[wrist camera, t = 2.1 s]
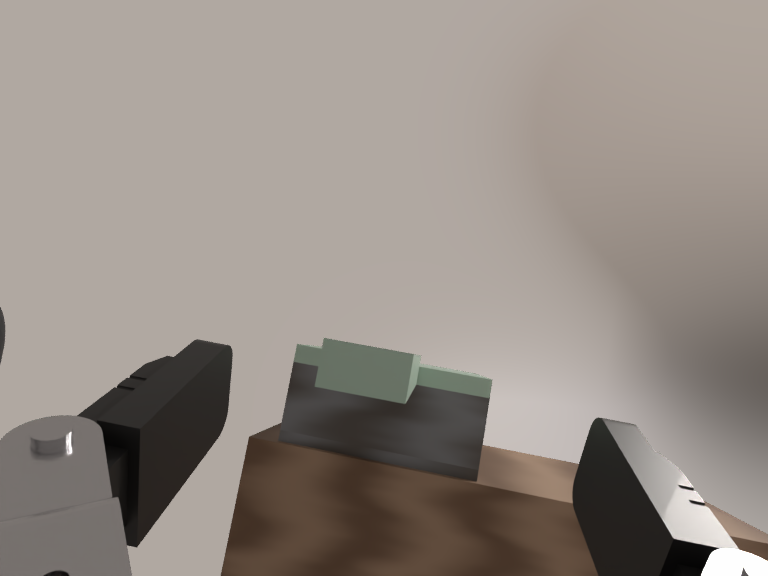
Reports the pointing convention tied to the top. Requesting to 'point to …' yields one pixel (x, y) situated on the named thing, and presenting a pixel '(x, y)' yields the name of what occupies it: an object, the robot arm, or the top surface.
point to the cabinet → (406, 494)
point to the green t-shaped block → (383, 372)
